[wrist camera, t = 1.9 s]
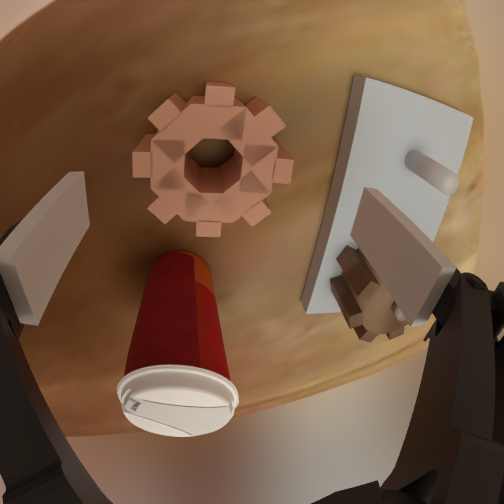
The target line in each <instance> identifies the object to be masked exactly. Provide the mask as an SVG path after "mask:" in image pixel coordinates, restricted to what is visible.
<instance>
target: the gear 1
mask: <svg viewBox="0 0 504 504" xmlns="http://www.w3.org/2000/svg"><path fill="white" fill-rule="evenodd" d="M235 88H236V87H234V86H233V85H231V84H230V83H222V82H207V81H206V85H205V95H204V96H193V97H192V98H191V99H189V100H188V101H187V102H185V101H184V100H183V99H182V98H181V97H180V96H179V95H178V93H177V92H175V93H174V94H173V95H172V96H170V97H169V98H168V99H167V100H166V101H165V102H164V103H163V104H162V105H160V106H159V107H158V108H157V109H156V110H155V111H154V112H153V113H152V114H151V115H150V116H149V117H148V119H149V120H150V121H151V122H152V123H153V125H154V126H155V127H156V128H157V129H158V130H157V132H156V133H155V134H146V135H145V136H144V138H143V139H142V140H141V141H140V143H139V144H138V145H137V147H136V148H135V149H134V151H133V152H132V159H133V178H151V190H152V191H153V192H152V195H151V198H150V201H149V204H148V207H147V209H148V210H150V211H151V212H152V213H153V214H154V215H155V216H156V217H157V218H158V219H159V220H161V221H162V222H163V223H164V224H166V223H167V222H168V221H169V220H171V219H172V218H173V217H174V216H175V215H176V214H178V215H179V216H180V217H181V218H182V219H183V220H184V221H191V222H196V237H220V236H221V224H222V222H224V223H233V222H235V221H236V220H237V219H239V218H240V217H241V216H242V217H243V218H244V219H245V220H246V221H247V222H248V223H249V224H250V225H251V226H252V227H253V226H255V225H256V224H257V223H259V222H260V221H261V220H262V219H264V218H265V217H266V216H268V215H269V214H270V213H272V211H271V209H270V207H269V205H268V202H267V200H266V197H267V196H269V195H270V194H271V191H272V184H273V183H281V184H290V181H291V175H292V170H293V164H294V159H293V158H292V157H291V156H290V155H289V154H288V152H287V151H286V150H285V149H284V148H283V147H282V146H281V145H280V144H279V143H278V141H277V140H273V139H272V138H271V137H272V136H274V135H275V134H276V133H278V132H279V131H281V130H282V129H283V128H285V127H286V125H285V124H284V123H283V122H282V120H281V119H280V118H279V116H278V115H277V114H276V113H275V111H274V110H273V109H272V108H271V106H270V105H268V104H267V103H265V102H264V101H262V100H260V99H259V98H257V97H255V98H254V99H252V100H251V101H250V102H248V103H247V104H246V105H244V104H243V103H242V102H240V101H239V100H238V99H237V98H234V96H235ZM203 138H207V139H225V140H229V141H230V143H231V144H232V145H233V146H234V153H233V156H232V157H231V158H230V159H229V160H227V161H226V162H225V163H224V164H223V165H221V166H220V167H219V168H214V167H200V166H199V165H198V164H197V163H196V162H195V161H194V160H193V159H192V158H191V157H190V156H189V155H188V154H187V152H188V151H189V150H190V149H191V148H192V147H194V146H195V145H196V144H197V143H198V142H199V141H201V140H202V139H203Z"/></svg>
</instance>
